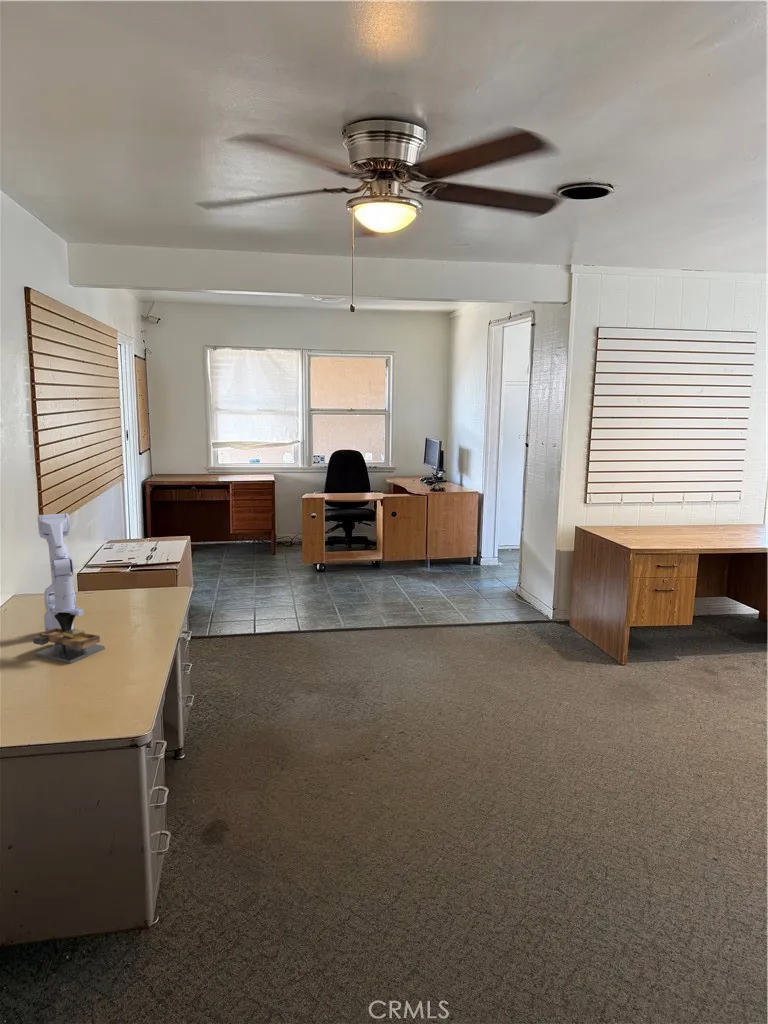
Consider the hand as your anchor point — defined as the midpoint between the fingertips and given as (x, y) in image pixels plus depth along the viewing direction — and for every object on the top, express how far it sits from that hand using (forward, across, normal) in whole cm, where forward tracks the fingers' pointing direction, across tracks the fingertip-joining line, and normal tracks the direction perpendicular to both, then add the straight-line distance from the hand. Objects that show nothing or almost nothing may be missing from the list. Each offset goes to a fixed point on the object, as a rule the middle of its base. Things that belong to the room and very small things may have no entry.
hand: (67, 633), depth 218 cm
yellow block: (+1, +3, 0) cm, 4 cm away
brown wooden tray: (+2, +1, 0) cm, 3 cm away
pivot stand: (+6, +1, 0) cm, 6 cm away
